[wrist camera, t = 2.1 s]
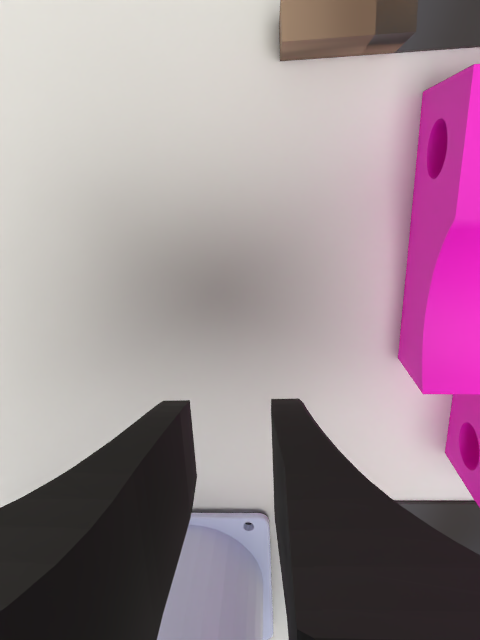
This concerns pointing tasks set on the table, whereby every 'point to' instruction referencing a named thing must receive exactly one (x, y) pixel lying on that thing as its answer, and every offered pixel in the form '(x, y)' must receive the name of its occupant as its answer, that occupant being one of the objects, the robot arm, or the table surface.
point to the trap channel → (380, 38)
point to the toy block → (447, 265)
